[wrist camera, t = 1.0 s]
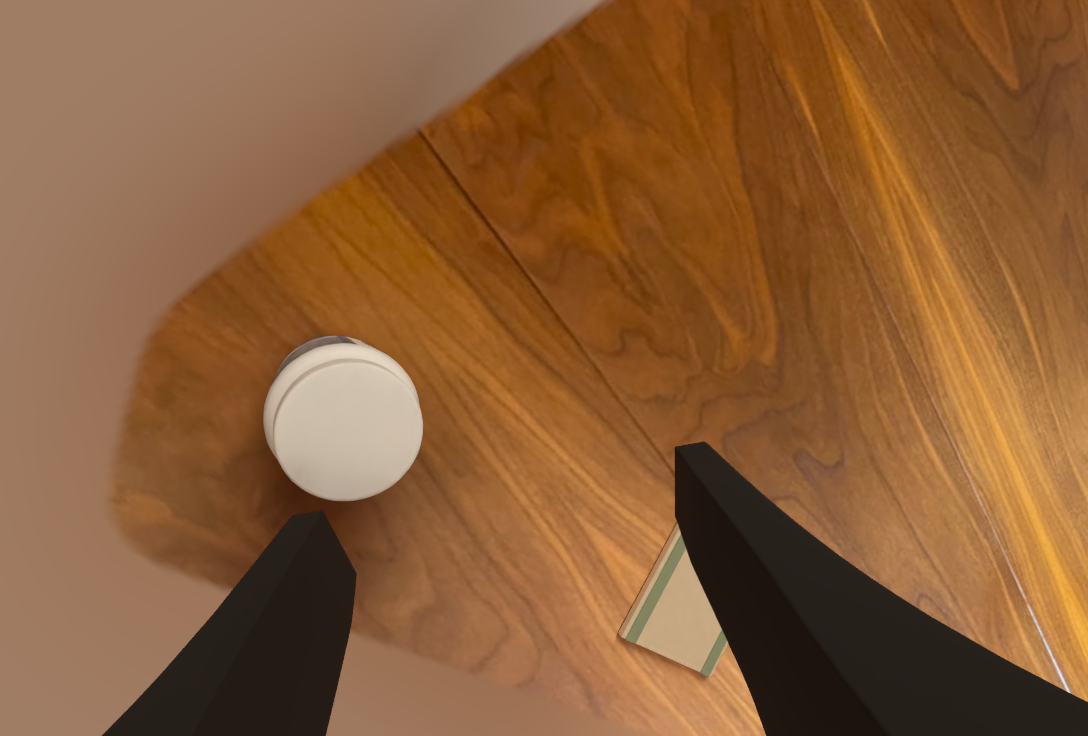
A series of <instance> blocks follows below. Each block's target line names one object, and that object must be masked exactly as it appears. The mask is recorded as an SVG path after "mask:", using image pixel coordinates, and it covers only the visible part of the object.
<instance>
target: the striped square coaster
mask: <svg viewBox="0 0 1088 736" xmlns="http://www.w3.org/2000/svg"><path fill="white" fill-rule="evenodd" d="M618 634H619V635H620V636H621V637H622V638H624V639H625V640H627V641H629V642H632V643H634V644H637V645H640V646H642V647H644V648H646V649H649V650H651V651H653V652H655V653H657V654H660V655H662V656H664V657H666V658H669V659H671V660H673V661H675V662H677V663H680V664H682V665H684V666H686V667H688V668H691V669H693V670H695V671H697V672H700V673H701V674H703V675H705V676H707V677H711V676H712V674H713V672H714V670H715V668H716V666H717V664H718V662H719V660H720V658H721V656H722V654H723V652H724V650H725V648H726V646H727V644H728V642H727V639H726V637H725V635H724V633H723V631H722V629H721V627H720V624H719V622H718V620H717V618H716V616H715V614H714V612H713V610H712V607H711V605H710V603H709V601H708V599H707V597H706V594H705V592H704V590H703V588H702V586H701V584H700V582H699V579H698V577H697V575H696V573H695V571H694V568H693V566H692V564H691V562H690V559H689V556H688V553H687V550H686V547H685V544H684V541H683V538H682V535H681V532H680V529H679V526H678V523H677V524H676V526H675V528H674V530H673V531H672V533H671V535H670V537H669V539H668V541H667V543H666V544H665V546H664V548H663V550H662V552H661V554H660V556H659V558H658V559H657V561H656V563H655V565H654V567H653V569H652V571H651V572H650V574H649V576H648V578H647V580H646V582H645V584H644V585H643V587H642V589H641V591H640V593H639V595H638V597H637V599H636V600H635V602H634V604H633V606H632V608H631V610H630V612H629V613H628V615H627V617H626V619H625V621H624V623H623V625H622V626H621V628H620V630H619V632H618Z"/></svg>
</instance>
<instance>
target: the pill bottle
mask: <svg viewBox="0 0 1088 736" xmlns="http://www.w3.org/2000/svg"><path fill="white" fill-rule="evenodd" d="M263 427H264V431H265V436H266V440H267V443H268V445H269V447H270V449H271V451H272V453H273V454H274V456H275V457H276V459H277V460H278V461H279V464H280V465H281V467H282V469H283V471H284V472H285V474H286V475H287V476H288V477H289V478H290V480H291V481H292V482H294V483H295V484H296V485H297V486H299V487H300V488H301V489H303V490H304V491H306V492H308V493H310V494H312V495H314V496H317V497H320V498H323V499H327V500H332V501H355V500H360V499H365V498H368V497H371V496H374V495H377V494H379V493H381V492H383V491H385V490H386V489H388V488H390V487H391V486H392V485H394V484H395V483H396V482H397V481H398V480H400V479H401V478H402V477H403V475H404V474H405V473H406V472H407V471H408V470H409V468H410V467H411V465H412V464H413V462H414V460H415V458H416V456H417V454H418V452H419V449H420V445H421V441H422V435H423V420H422V414H421V410H420V405H419V399H418V395H417V392H416V389H415V386H414V384H413V382H412V381H411V379H410V377H409V376H408V374H407V373H406V372H405V371H404V369H403V368H402V367H401V366H400V365H399V364H398V363H397V362H396V361H395V360H393V359H392V358H391V357H390V356H388V355H387V354H385V353H384V352H382V351H379V350H377V349H375V348H373V347H371V346H370V345H368V344H366V343H365V342H363V341H360V340H356V339H353V338H350V337H344V336H325V337H320V338H316V339H313V340H310V341H308V342H306V343H304V344H302V345H301V346H299V347H298V348H296V349H295V350H294V351H292V352H291V353H290V354H289V355H288V356H287V357H286V359H285V360H284V361H283V363H282V364H281V366H280V368H279V369H278V372H277V374H276V376H275V378H274V381H273V383H272V385H271V388H270V390H269V392H268V395H267V398H266V400H265V405H264V410H263Z"/></svg>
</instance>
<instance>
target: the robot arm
mask: <svg viewBox="0 0 1088 736" xmlns="http://www.w3.org/2000/svg"><path fill="white" fill-rule="evenodd" d="M675 517H676V520H677V523H678V526H679V529H680V532H681V535H682V538H683V541H684V544H685V547H686V550H687V553H688V556H689V559H690V562H691V564H692V566H693V568H694V571H695V573H696V575H697V577H698V579H699V582H700V584H701V586H702V588H703V590H704V592H705V594H706V597H707V599H708V601H709V603H710V605H711V607H712V610H713V612H714V614H715V616H716V618H717V620H718V622H719V624H720V627H721V629H722V631H723V633H724V635H725V637H726V639H727V642H728V644H729V646H730V648H731V650H732V652H733V654H734V656H735V659H736V661H737V663H738V665H739V667H740V669H741V672H742V674H743V676H744V679H745V681H746V683H747V686H748V688H749V691H750V693H751V695H752V698H753V701H754V703H755V706H756V709H757V712H758V714H759V717H760V720H761V722H762V725H763V728H764V731H765V733H766V736H1088V702H1086V701H1084V700H1082V699H1080V698H1078V697H1076V696H1074V695H1072V694H1070V693H1068V692H1066V691H1064V690H1062V689H1061V688H1059V687H1057V686H1055V685H1053V684H1051V683H1049V682H1047V681H1045V680H1043V679H1041V678H1040V677H1038V676H1036V675H1034V674H1032V673H1030V672H1028V671H1026V670H1024V669H1022V668H1020V667H1019V666H1017V665H1015V664H1013V663H1011V662H1009V661H1007V660H1005V659H1004V658H1002V657H1000V656H998V655H996V654H995V653H993V652H991V651H990V650H988V649H986V648H984V647H983V646H981V645H979V644H977V643H976V642H974V641H972V640H970V639H969V638H967V637H965V636H964V635H962V634H960V633H958V632H957V631H955V630H953V629H951V628H950V627H948V626H946V625H944V624H943V623H941V622H939V621H938V620H936V619H934V618H932V617H931V616H929V615H927V614H926V613H924V612H923V611H921V610H919V609H918V608H916V607H915V606H913V605H912V604H910V603H908V602H907V601H905V600H904V599H902V598H900V597H899V596H897V595H896V594H894V593H893V592H891V591H890V590H888V589H887V588H885V587H884V586H882V585H881V584H879V583H878V582H876V581H875V580H873V579H872V578H870V577H869V576H867V575H866V574H864V573H863V572H862V571H860V570H859V569H857V568H856V567H855V566H853V565H852V564H850V563H849V562H848V561H846V560H845V559H843V558H842V557H841V556H839V555H838V554H837V553H835V552H834V551H833V550H831V549H830V548H829V547H827V546H826V545H825V544H823V543H822V542H821V541H819V540H818V539H817V538H816V537H814V536H813V535H812V534H810V533H809V532H808V531H807V530H805V529H804V528H803V527H802V526H800V525H799V524H798V523H797V522H795V521H794V520H793V519H792V518H790V517H789V516H788V515H787V514H786V513H784V512H783V511H782V510H781V509H780V508H779V507H777V506H776V505H775V504H774V503H773V502H771V501H770V500H769V499H768V498H767V497H765V496H764V495H763V494H762V493H761V492H760V491H759V490H757V489H756V488H755V487H754V486H753V485H752V484H751V483H750V482H748V481H747V480H746V479H745V478H744V477H743V476H742V475H741V474H740V473H739V472H737V471H736V470H735V469H734V468H733V467H732V466H731V465H730V464H729V463H728V462H727V461H726V460H725V459H723V458H722V457H721V456H720V455H719V454H718V453H717V452H716V451H715V450H714V449H713V448H712V447H711V446H710V445H709V444H707V443H706V442H699V443H694V444H688V445H682V446H677V447H675ZM356 575H357V574H356V572H355V570H354V568H353V566H352V564H351V562H350V560H349V559H348V557H347V555H346V553H345V551H344V549H343V547H342V546H341V544H340V542H339V540H338V538H337V536H336V534H335V532H334V531H333V529H332V527H331V525H330V523H329V521H328V519H327V517H326V516H325V514H324V512H323V510H320V511H315V512H309V513H304V514H298V515H293V516H292V517H291V518H290V519H289V520H288V522H287V523H286V524H285V525H284V526H283V528H282V529H281V530H280V531H279V533H278V534H277V535H276V536H275V538H274V539H273V540H272V541H271V543H270V544H269V545H268V546H267V548H266V549H265V550H264V551H263V553H262V554H261V555H260V557H259V558H258V559H257V560H256V562H255V563H254V564H253V565H252V567H251V568H250V569H249V570H248V572H247V573H246V574H245V575H244V577H243V578H242V579H241V580H240V582H239V583H238V584H237V585H236V587H235V588H234V589H233V590H232V591H231V593H230V594H229V595H228V596H227V598H226V599H225V600H224V601H223V603H222V604H221V605H220V606H219V608H218V609H217V610H216V611H215V612H214V614H213V615H212V616H211V617H210V618H209V620H208V621H207V622H206V623H205V624H204V625H203V627H202V628H201V629H200V630H199V631H198V632H197V633H196V635H195V636H194V637H193V638H192V639H191V640H190V641H189V643H188V644H187V645H186V646H185V648H183V649H182V651H181V652H180V653H179V654H178V655H177V656H176V658H175V659H174V660H173V661H172V662H171V663H170V664H169V666H168V667H167V668H166V669H165V670H164V671H163V672H162V674H161V675H160V676H159V677H158V678H157V679H156V680H155V681H154V682H153V683H152V684H151V685H150V687H149V688H148V689H147V690H146V691H145V692H144V693H143V694H142V695H141V696H140V697H139V698H138V699H137V700H136V702H134V704H133V705H132V706H131V707H130V708H129V709H128V710H127V711H126V712H125V713H124V714H123V715H122V716H121V717H120V718H119V719H118V720H117V721H116V722H115V723H114V724H113V725H112V726H111V727H110V728H109V729H108V730H107V731H106V732H105V733H104V734H103V735H102V736H326V732H327V727H328V724H329V719H330V715H331V711H332V707H333V702H334V698H335V694H336V690H337V685H338V681H339V677H340V672H341V668H342V664H343V660H344V655H345V650H346V646H347V642H348V638H349V633H350V628H351V623H352V615H353V606H354V597H355V586H356Z"/></svg>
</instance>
